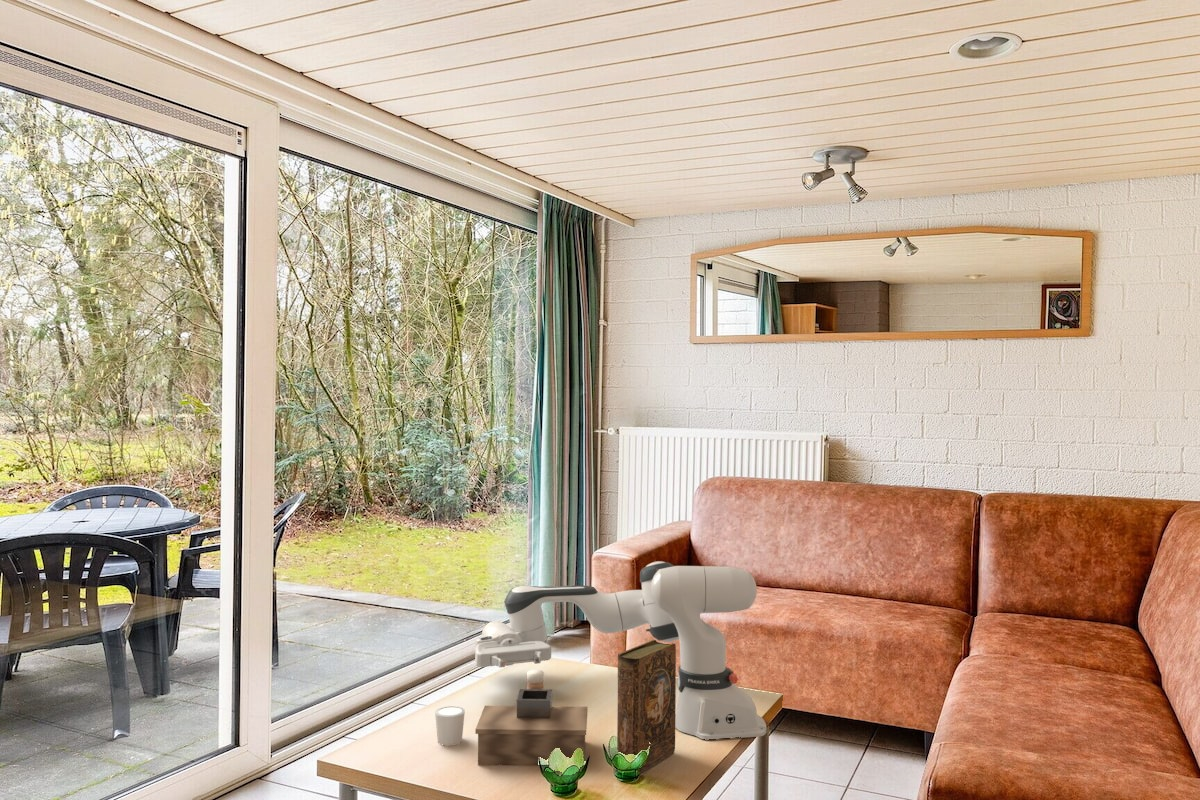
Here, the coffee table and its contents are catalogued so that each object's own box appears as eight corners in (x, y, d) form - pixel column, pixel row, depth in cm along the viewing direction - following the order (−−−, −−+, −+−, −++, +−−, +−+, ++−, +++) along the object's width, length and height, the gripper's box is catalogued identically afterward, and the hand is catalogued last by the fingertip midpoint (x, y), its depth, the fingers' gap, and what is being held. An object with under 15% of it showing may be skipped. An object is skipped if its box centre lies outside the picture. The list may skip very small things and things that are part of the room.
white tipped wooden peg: (543, 722, 213) (544, 669, 213) (542, 728, 209) (543, 674, 209) (527, 722, 213) (527, 669, 213) (526, 728, 209) (526, 674, 209)
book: (635, 779, 182) (636, 660, 182) (613, 772, 185) (614, 655, 185) (675, 753, 195) (676, 642, 195) (654, 747, 199) (655, 638, 199)
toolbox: (587, 740, 202) (587, 689, 202) (585, 767, 188) (586, 711, 188) (484, 739, 202) (484, 688, 202) (475, 766, 188) (475, 710, 188)
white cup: (431, 737, 203) (432, 708, 203) (460, 733, 206) (460, 704, 206) (438, 748, 197) (438, 717, 197) (467, 744, 200) (468, 713, 200)
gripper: (543, 655, 239) (558, 670, 226) (470, 663, 232) (481, 678, 219) (543, 632, 239) (558, 646, 226) (470, 639, 232) (481, 653, 219)
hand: (520, 662), depth 223 cm, fingers open, 8 cm apart
